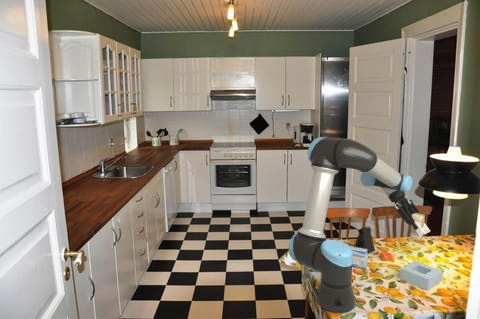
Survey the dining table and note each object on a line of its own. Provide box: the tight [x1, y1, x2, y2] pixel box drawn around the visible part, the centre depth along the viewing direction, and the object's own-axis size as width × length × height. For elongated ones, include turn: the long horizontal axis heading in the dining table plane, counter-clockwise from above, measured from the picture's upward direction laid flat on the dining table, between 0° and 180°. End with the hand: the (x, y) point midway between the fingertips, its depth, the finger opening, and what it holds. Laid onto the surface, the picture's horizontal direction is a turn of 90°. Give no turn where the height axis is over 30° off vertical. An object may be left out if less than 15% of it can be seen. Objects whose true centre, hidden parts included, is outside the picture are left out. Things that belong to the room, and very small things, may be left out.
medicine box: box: [349, 245, 368, 270], centre depth 167 cm, size 8×4×9 cm, turn 62°
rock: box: [379, 250, 395, 262], centre depth 174 cm, size 12×12×4 cm
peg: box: [409, 213, 426, 242], centre depth 166 cm, size 4×4×12 cm
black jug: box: [353, 226, 376, 255], centre depth 184 cm, size 9×6×12 cm, turn 33°
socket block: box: [399, 260, 444, 291], centre depth 153 cm, size 12×12×5 cm
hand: (425, 233), depth 164 cm, fingers closed on peg, 4 cm apart
